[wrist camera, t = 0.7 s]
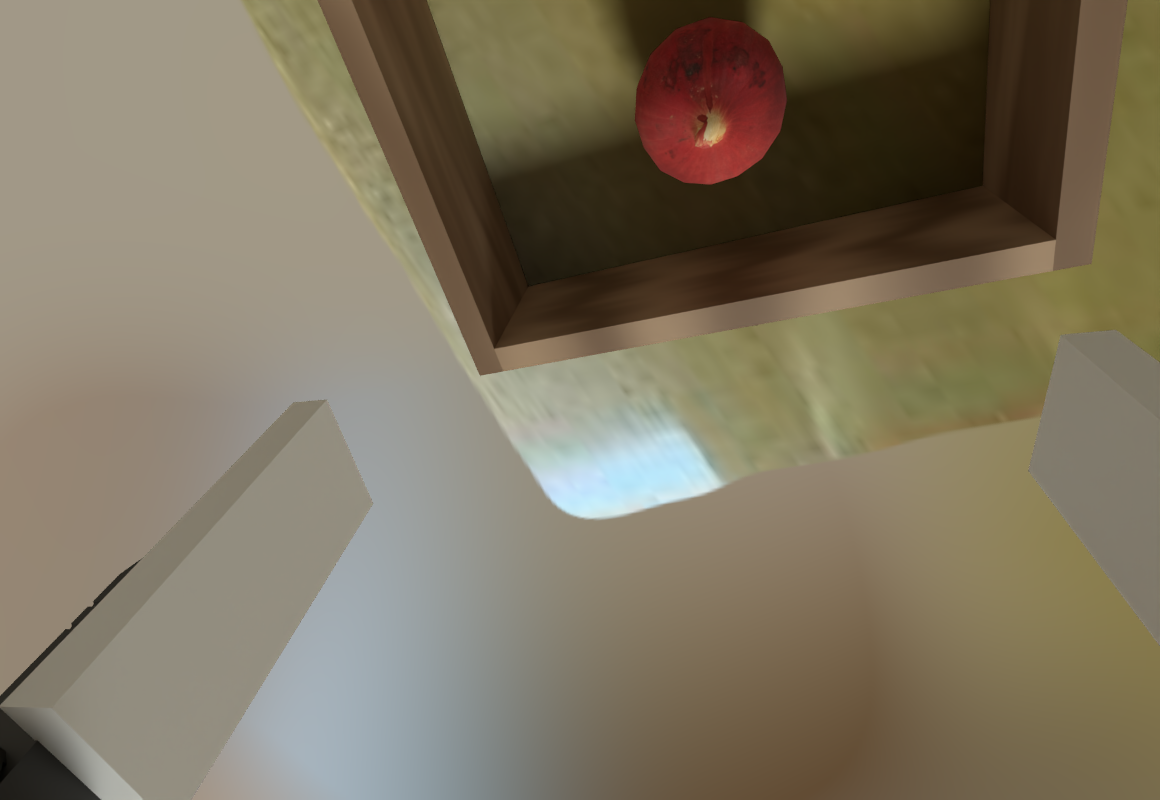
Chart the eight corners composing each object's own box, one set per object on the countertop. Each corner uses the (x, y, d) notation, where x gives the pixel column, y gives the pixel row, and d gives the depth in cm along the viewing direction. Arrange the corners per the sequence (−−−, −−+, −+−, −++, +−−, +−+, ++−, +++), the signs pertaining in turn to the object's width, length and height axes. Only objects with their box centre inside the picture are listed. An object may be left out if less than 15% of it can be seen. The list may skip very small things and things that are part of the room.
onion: (625, 42, 27) (603, 64, 21) (762, -10, 25) (785, -4, 19) (661, 175, 30) (651, 231, 23) (785, 137, 28) (813, 186, 22)
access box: (1044, -294, 20) (1182, -401, 14) (1011, 205, 28) (1091, 263, 23) (387, -30, 27) (304, -31, 21) (515, 310, 35) (479, 375, 29)
